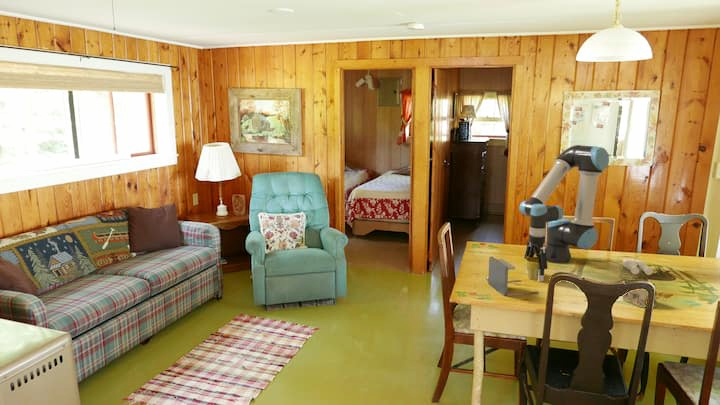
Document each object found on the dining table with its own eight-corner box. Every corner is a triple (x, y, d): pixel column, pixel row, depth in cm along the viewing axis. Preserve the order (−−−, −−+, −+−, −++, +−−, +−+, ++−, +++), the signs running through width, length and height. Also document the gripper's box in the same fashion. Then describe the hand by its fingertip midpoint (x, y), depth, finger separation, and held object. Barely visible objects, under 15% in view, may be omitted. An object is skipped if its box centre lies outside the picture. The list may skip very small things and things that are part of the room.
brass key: (495, 275, 256) (496, 274, 256) (500, 277, 254) (500, 275, 253) (484, 279, 252) (484, 277, 252) (489, 281, 249) (489, 279, 249)
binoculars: (631, 274, 256) (631, 266, 255) (620, 264, 271) (620, 256, 270) (652, 275, 254) (653, 267, 253) (640, 265, 270) (641, 257, 269)
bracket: (519, 280, 250) (521, 253, 247) (538, 293, 233) (540, 264, 230) (487, 283, 246) (488, 256, 243) (504, 296, 230) (506, 267, 227)
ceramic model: (662, 304, 219) (664, 282, 217) (651, 311, 212) (654, 288, 210) (628, 294, 230) (630, 274, 228) (617, 301, 223) (619, 280, 221)
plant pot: (547, 282, 247) (548, 263, 245) (525, 280, 249) (526, 262, 247) (543, 275, 257) (545, 256, 255) (522, 273, 259) (523, 255, 257)
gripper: (518, 230, 258) (516, 270, 263) (543, 241, 237) (540, 285, 241) (531, 229, 260) (529, 269, 264) (557, 240, 238) (554, 284, 243)
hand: (534, 277), depth 253 cm, fingers closed on plant pot, 10 cm apart
